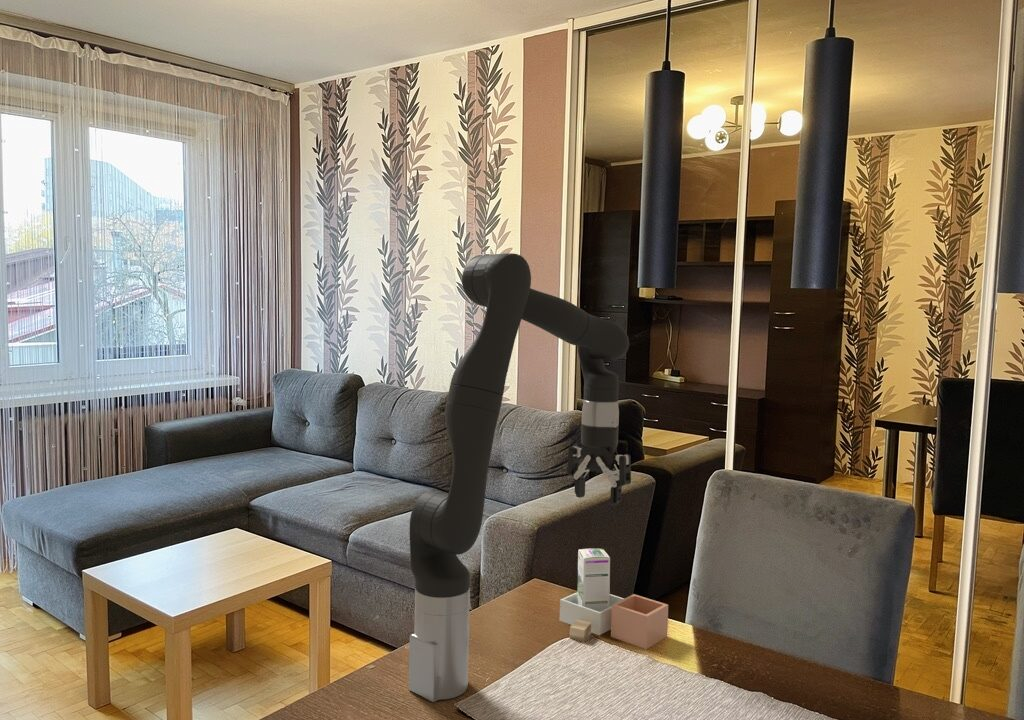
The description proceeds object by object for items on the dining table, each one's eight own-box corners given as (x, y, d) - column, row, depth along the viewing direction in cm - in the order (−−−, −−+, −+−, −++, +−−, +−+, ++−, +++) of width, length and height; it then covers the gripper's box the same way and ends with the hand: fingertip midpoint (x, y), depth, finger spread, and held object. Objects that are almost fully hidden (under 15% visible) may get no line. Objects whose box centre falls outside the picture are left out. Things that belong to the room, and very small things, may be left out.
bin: (599, 638, 147) (600, 613, 146) (559, 623, 153) (560, 599, 153) (626, 623, 154) (627, 599, 154) (587, 609, 161) (588, 587, 161)
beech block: (583, 645, 144) (584, 630, 144) (569, 642, 145) (569, 627, 145) (590, 637, 147) (591, 622, 147) (576, 634, 149) (577, 619, 148)
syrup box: (609, 626, 151) (612, 556, 150) (581, 627, 150) (583, 557, 150) (602, 615, 157) (604, 547, 156) (575, 615, 156) (577, 548, 155)
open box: (645, 652, 141) (647, 616, 141) (610, 639, 146) (611, 604, 146) (667, 639, 147) (668, 604, 147) (632, 627, 152) (633, 594, 152)
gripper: (561, 420, 153) (558, 497, 154) (619, 428, 144) (616, 510, 145) (582, 417, 159) (580, 491, 160) (639, 424, 149) (636, 504, 150)
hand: (597, 500), depth 152 cm, fingers open, 8 cm apart
